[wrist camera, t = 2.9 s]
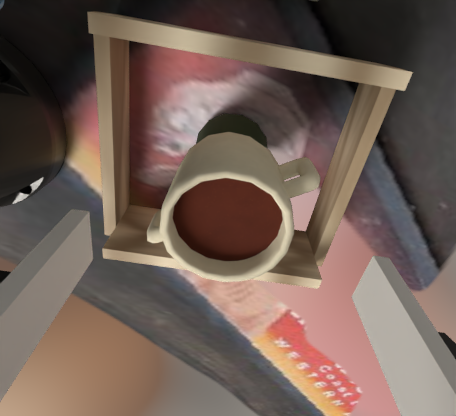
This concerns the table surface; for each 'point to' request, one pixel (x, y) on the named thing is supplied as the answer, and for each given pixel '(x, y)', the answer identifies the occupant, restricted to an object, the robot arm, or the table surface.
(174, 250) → the character mug
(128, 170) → the wooden frame
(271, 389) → the table surface
